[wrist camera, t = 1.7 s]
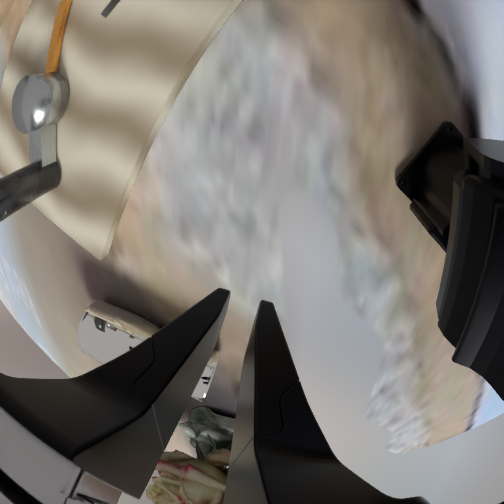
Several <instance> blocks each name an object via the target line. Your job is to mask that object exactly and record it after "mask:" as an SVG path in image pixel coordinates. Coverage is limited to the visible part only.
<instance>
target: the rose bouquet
mask: <svg viewBox="0 0 504 504" xmlns="http://www.w3.org/2000/svg"><path fill="white" fill-rule="evenodd" d="M179 425H180V426H181V428H182V429H183V430H184V431H185V434H186V437H189V438H190V439H191V440H190V443H191V445H192V446H193V447H194V448H196V453H197V458H196V459H195V458H193V457H191V456H189V455H187V454H185V453H183V452H180V451H178V450H175V451H173V452H163V454H162V456H161V458H160V460H159V462H158V464H157V466H156V468H155V469H156V470H158V472H159V475H160V477H152V481H153V483H154V484H153V485H149V487H148V488H147V489H146V495H147V497H148V498H149V499H151V500H152V501H153V502H154V504H223V501H224V494H225V488H226V481H227V474H228V471H229V470H228V468H226V467H227V466H229V460H230V453H231V447H232V440H233V433H234V425H235V419H234V418H230V417H224V416H221V415H218V414H215V413H213V412H212V411H211V409H210V408H208V407H206V406H202V407H198V408H194V409H192V410H191V415H190V419H189V421H188V422H186V423H185V424H179ZM184 427H189V428H190V431H189V430H185V429H184ZM217 441H219V442H223V443H218V444H216V443H215V442H217Z"/></svg>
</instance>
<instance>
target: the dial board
mask: <svg viewBox="0 0 504 504" xmlns="http://www.w3.org/2000/svg"><path fill="white" fill-rule="evenodd" d="M61 1H63V0H33V1H32V3H31V5H30V7H29V9H28V11H27V13H26V15H25V18H24V20H23V22H22V25H21V27H20V29H19V32H18V35H17V37H16V40H15V42H14V45H13V48H12V51H11V54H10V57H9V60H8V63H7V67H6V70H5V74H4V77H3V81H2V85H1V89H0V172H1V173H2V174H3V175H4V176H6V175H8V174H10V173H12V172H14V171H16V170H18V169H21V168H23V167H25V166H27V165H29V164H30V149H29V133H27V134H23V133H21V132H19V131H18V130H17V128H16V126H15V124H14V122H13V118H12V98H13V94H14V91H15V88H16V86H17V84H18V83H19V81H20V80H21V79H22V78H23V77H25V76H27V75H33V74H41V73H45V72H46V64H47V58H48V51H49V46H50V40H51V35H52V31H53V26H54V22H55V18H56V14H57V10H58V7H59V3H60V2H61ZM242 1H243V0H72V1H71V4H70V8H69V12H68V16H67V20H66V24H65V28H64V33H63V37H62V42H61V48H60V54H59V60H58V67H57V72H58V73H60V74H62V75H63V76H64V78H65V80H66V82H67V85H68V94H69V95H68V104H67V108H66V111H65V113H64V115H63V117H62V118H61V120H60V121H59V122H58V123H57V124H56V161H57V163H58V165H59V168H60V172H61V181H60V184H59V186H58V187H57V188H55V189H53V190H51V191H50V192H48V193H46V194H44V195H43V196H41V197H39V198H37V199H36V200H34V201H32V202H31V203H32V204H33V205H35V206H36V207H37V208H38V209H39V210H40V211H41V212H42V213H43V214H44V215H46V216H47V217H48V218H49V219H50V220H51V221H52V222H54V223H55V224H56V225H57V226H58V227H59V228H61V229H62V230H63V231H64V232H65V233H66V234H68V235H69V236H70V237H71V238H72V239H74V240H75V241H76V242H77V243H79V244H80V245H81V246H82V247H84V248H85V249H86V250H87V251H89V252H90V253H91V254H92V255H94V256H95V257H96V258H98V259H99V260H100V261H101V260H102V259H103V258H104V257H105V256H106V255H107V254H108V253H109V250H110V247H111V244H112V241H113V238H114V235H115V232H116V229H117V226H118V224H119V221H120V218H121V215H122V213H123V210H124V208H125V205H126V202H127V200H128V197H129V195H130V192H131V190H132V187H133V185H134V183H135V180H136V178H137V176H138V173H139V171H140V169H141V166H142V164H143V162H144V160H145V158H146V155H147V153H148V151H149V149H150V147H151V145H152V143H153V141H154V139H155V137H156V135H157V133H158V131H159V129H160V127H161V125H162V123H163V121H164V119H165V117H166V115H167V113H168V112H169V110H170V108H171V106H172V104H173V103H174V101H175V99H176V97H177V95H178V94H179V92H180V90H181V89H182V87H183V85H184V83H185V82H186V80H187V79H188V77H189V75H190V74H191V72H192V70H193V69H194V67H195V66H196V64H197V63H198V61H199V59H200V58H201V56H202V55H203V53H204V52H205V50H206V49H207V47H208V46H209V45H210V43H211V42H212V40H213V39H214V37H215V36H216V35H217V33H218V32H219V30H220V29H221V28H222V26H223V25H224V24H225V22H226V21H227V20H228V18H229V17H230V16H231V14H232V13H233V12H234V11H235V9H236V8H237V7H238V6H239V4H240V3H241V2H242Z"/></svg>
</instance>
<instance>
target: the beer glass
mask: <svg viewBox="0 0 504 504" xmlns="http://www.w3.org/2000/svg"><path fill="white" fill-rule="evenodd" d="M159 330H160V328H159V327H157V326H156V325H154V324H152V323H151V322H149V321H147V320H146V319H144V318H142V317H140V316H138V315H136V314H134V313H132V312H129V311H127V310H125V309H122V308H120V307H117V306H114V305H111V304H109V303H106V302H103V301H102V300H96V301H94V302H93V303H92V304H91V305H90V306H89V307H88V308H87V309H86V311H85V312H84V314H83V316H82V318H81V321H80V323H79V327H78V331H77V345H78V347H79V349H80V350H82V351H84V352H85V353H87V354H88V355H90V356H91V357H93V358H94V359H96V360H97V361H99V362H100V363H102V364H105V363H107V362H109V361H111V360H113V359H115V358H117V357H118V356H120V355H122V354H124V353H126V352H127V351H129V350H131V349H132V348H134V347H135V346H137V345H138V344H140V343H141V342H143V341H144V340H146V339H147V338H148V337H151V336H152V335H153V334H154V333H156V332H157V331H159ZM219 356H220V351H217V350H214V351H213V353H212V355H211V357H210V359H209V361H208V363H207V365H206V367H205V370H204V372H203V374H202V376H201V378H200V380H199V382H198V384H197V386H196V388H195V390H194V392H193V394H192V396H191V397H193V398H194V399H196V400H198V401H200V402H204V400H205V398H206V395H207V392H208V390H209V387H210V384H211V381H212V378H213V375H214V372H215V369H216V366H217V363H218V360H219Z"/></svg>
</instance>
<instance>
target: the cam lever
mask: <svg viewBox="0 0 504 504" xmlns="http://www.w3.org/2000/svg"><path fill="white" fill-rule="evenodd" d="M71 1H72V0H63V1H61V2H60V3H59V7H58V10H57V14H56V18H55V22H54V26H53V31H52V35H51V40H50V46H49V51H48V58H47V64H46V72H45V73H41V74H33V75H27V76H25V77H23V78H22V79H21V80H20V81H19V83H18V84H17V86H16V88H15V91H14V94H13V98H12V118H13V122H14V124H15V126H16V128H17V130H18V131H19V132H21V133H23V134H27V133H29V149H30V164H29V165H27V166H25V167H23V168H21V169H18V170H16V171H14V172H12V173H10V174H8V175H6V176H4V177H2V178H0V222H1V221H2V220H4V219H5V218H7V217H8V216H10V215H11V214H13V213H14V212H16V211H18V210H19V209H21V208H22V207H24V206H26V205H27V204H29V203H31V202H32V201H34V200H36V199H37V198H39V197H41V196H43V195H44V194H46V193H48V192H50V191H51V190H53V189H55V188H57V187H58V186H59V184H60V181H61V172H60V168H59V165H58V163H57V161H56V124H57V123H58V122H59V121H60V120H61V118H62V117H63V115H64V113H65V111H66V108H67V104H68V95H69V94H68V85H67V82H66V80H65V78H64V76H63V75H62V74H60V73H58V72H57V67H58V60H59V54H60V48H61V42H62V37H63V33H64V28H65V24H66V20H67V16H68V12H69V8H70V4H71Z"/></svg>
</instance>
